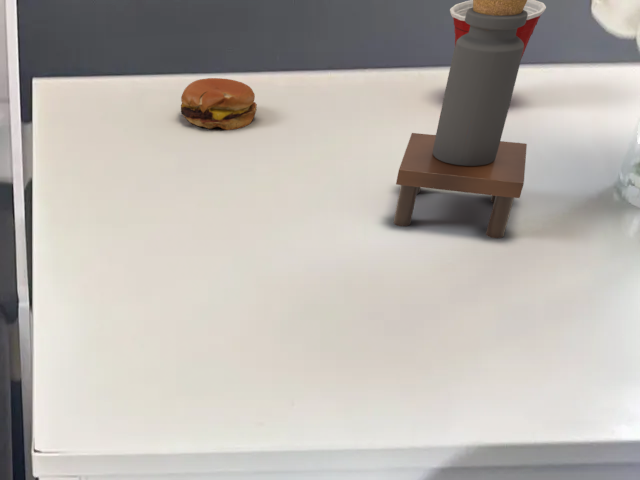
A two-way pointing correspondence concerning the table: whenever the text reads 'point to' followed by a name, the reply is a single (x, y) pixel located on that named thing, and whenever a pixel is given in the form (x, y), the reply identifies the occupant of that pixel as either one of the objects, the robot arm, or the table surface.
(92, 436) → the table surface
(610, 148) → the table surface
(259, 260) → the table surface
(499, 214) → the stool
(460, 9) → the plastic cup
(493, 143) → the bottle
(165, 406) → the table surface
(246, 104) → the burger
